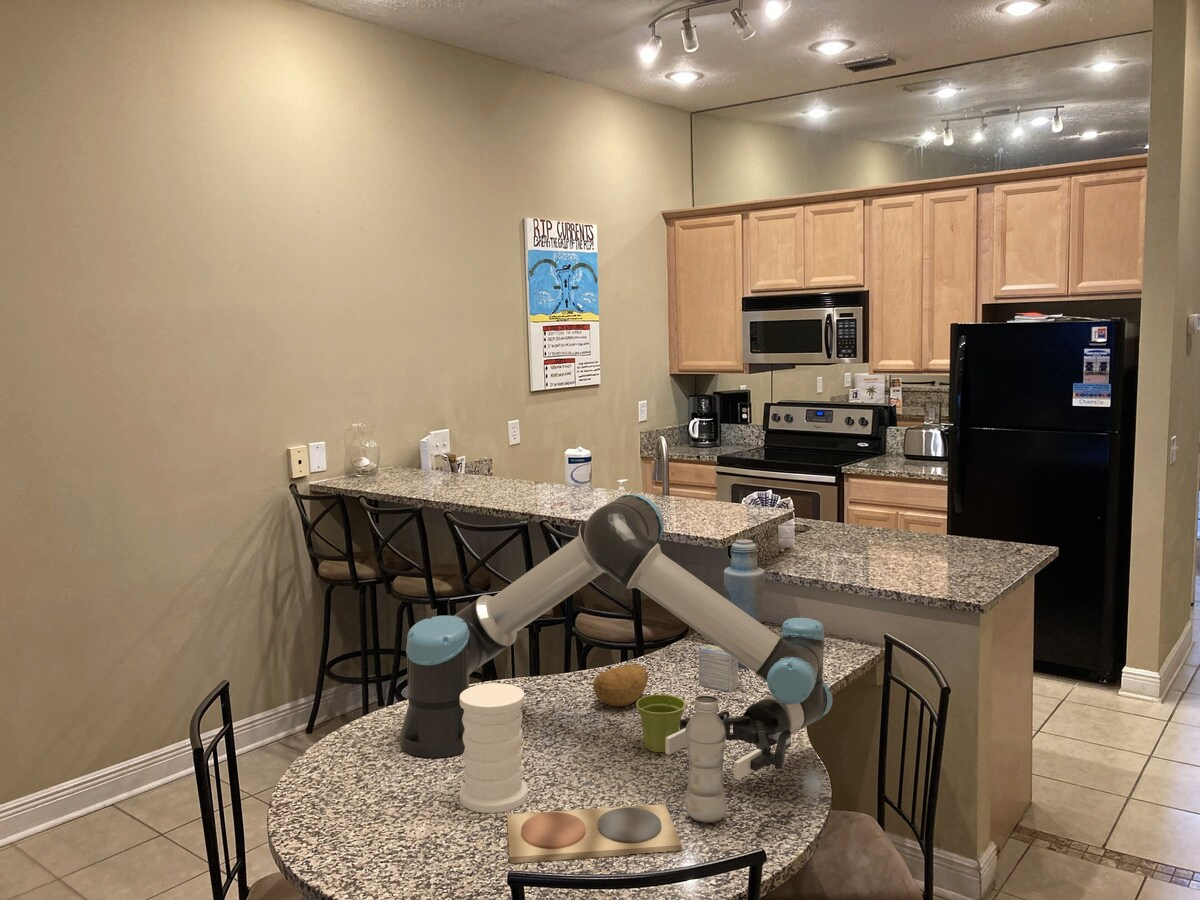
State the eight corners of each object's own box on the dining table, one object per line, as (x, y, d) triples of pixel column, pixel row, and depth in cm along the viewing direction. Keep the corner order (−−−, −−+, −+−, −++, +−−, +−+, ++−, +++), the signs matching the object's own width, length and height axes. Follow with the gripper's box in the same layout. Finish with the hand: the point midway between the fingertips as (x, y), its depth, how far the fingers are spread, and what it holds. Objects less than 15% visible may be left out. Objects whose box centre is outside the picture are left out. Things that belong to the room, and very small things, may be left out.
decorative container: (470, 818, 154) (468, 712, 152) (451, 788, 165) (449, 688, 163) (537, 804, 159) (536, 701, 157) (515, 776, 169) (514, 678, 167)
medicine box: (738, 686, 213) (739, 649, 212) (730, 693, 209) (730, 655, 208) (707, 680, 217) (707, 643, 216) (698, 686, 214) (698, 648, 213)
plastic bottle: (716, 832, 149) (717, 709, 147) (677, 820, 153) (678, 701, 151) (732, 815, 155) (734, 696, 153) (695, 804, 158) (696, 688, 156)
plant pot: (682, 759, 176) (682, 714, 175) (632, 755, 178) (632, 710, 177) (688, 738, 185) (688, 696, 184) (640, 735, 187) (640, 692, 186)
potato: (660, 700, 205) (660, 664, 204) (616, 718, 195) (616, 681, 194) (627, 689, 212) (627, 654, 211) (582, 706, 202) (582, 670, 201)
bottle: (766, 669, 225) (769, 544, 221) (725, 669, 225) (726, 544, 221) (760, 656, 234) (762, 536, 231) (720, 655, 234) (722, 536, 231)
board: (509, 863, 141) (509, 853, 140) (507, 820, 153) (507, 810, 153) (681, 851, 144) (681, 841, 144) (665, 809, 157) (665, 800, 156)
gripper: (836, 760, 159) (767, 806, 143) (714, 721, 176) (640, 757, 160) (837, 717, 158) (768, 758, 142) (714, 682, 175) (640, 715, 159)
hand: (700, 758), depth 151 cm, fingers open, 13 cm apart
